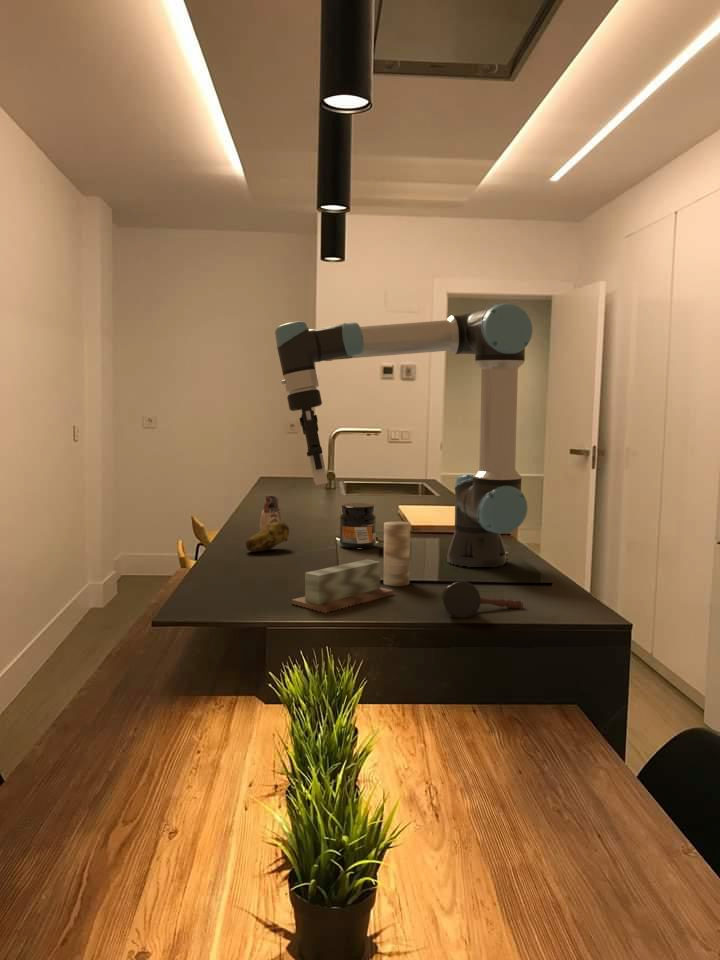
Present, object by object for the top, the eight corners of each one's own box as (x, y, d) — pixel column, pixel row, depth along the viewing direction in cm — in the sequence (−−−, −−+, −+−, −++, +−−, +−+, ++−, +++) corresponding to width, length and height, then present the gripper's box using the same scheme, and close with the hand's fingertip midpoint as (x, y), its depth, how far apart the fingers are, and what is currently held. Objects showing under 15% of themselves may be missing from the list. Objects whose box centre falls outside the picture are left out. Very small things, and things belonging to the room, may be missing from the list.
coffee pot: (441, 617, 164) (433, 612, 173) (530, 628, 166) (518, 622, 174) (446, 579, 165) (438, 576, 173) (535, 590, 166) (523, 586, 175)
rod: (403, 579, 198) (404, 521, 197) (413, 585, 193) (413, 525, 191) (379, 581, 197) (380, 522, 195) (388, 586, 191) (389, 526, 189)
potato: (240, 549, 234) (240, 521, 233) (285, 546, 239) (284, 518, 238) (248, 555, 227) (248, 525, 226) (294, 551, 232) (293, 523, 231)
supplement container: (364, 551, 233) (364, 508, 231) (332, 547, 238) (332, 505, 237) (382, 545, 242) (382, 504, 240) (351, 541, 247) (351, 501, 246)
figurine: (287, 531, 264) (286, 494, 262) (272, 535, 258) (272, 496, 256) (269, 529, 267) (268, 492, 266) (254, 532, 261) (254, 494, 260)
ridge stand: (359, 587, 191) (359, 556, 190) (393, 594, 184) (393, 563, 183) (291, 604, 175) (291, 571, 174) (325, 613, 168) (325, 578, 168)
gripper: (287, 397, 203) (304, 483, 204) (286, 390, 178) (305, 488, 179) (317, 391, 203) (334, 477, 204) (320, 384, 179) (340, 481, 180)
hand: (320, 483), depth 192 cm, fingers open, 13 cm apart
